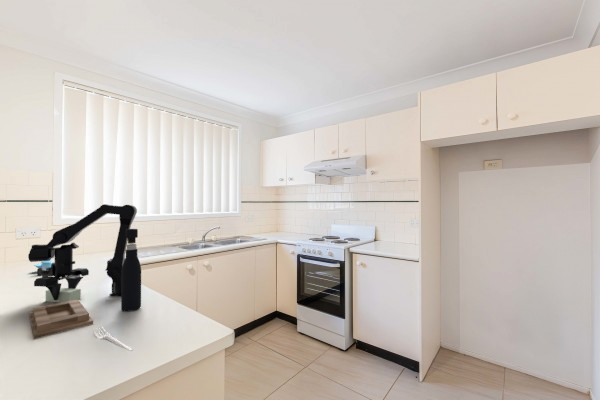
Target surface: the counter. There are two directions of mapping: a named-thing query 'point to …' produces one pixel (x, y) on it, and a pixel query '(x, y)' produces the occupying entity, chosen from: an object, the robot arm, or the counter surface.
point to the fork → (110, 338)
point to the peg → (65, 295)
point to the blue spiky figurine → (44, 264)
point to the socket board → (58, 318)
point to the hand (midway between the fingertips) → (63, 297)
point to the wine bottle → (131, 275)
